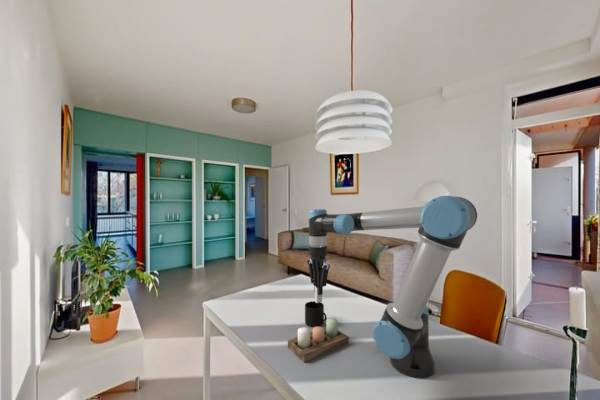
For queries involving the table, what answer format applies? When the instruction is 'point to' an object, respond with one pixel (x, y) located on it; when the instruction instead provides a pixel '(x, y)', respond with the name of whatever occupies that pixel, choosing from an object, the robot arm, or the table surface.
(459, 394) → the table surface
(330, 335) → the pale green egg
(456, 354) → the table surface
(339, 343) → the wooden tray
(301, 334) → the white egg
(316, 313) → the mug
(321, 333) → the peach egg
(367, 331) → the table surface
